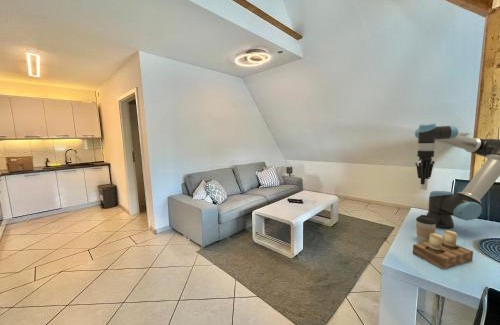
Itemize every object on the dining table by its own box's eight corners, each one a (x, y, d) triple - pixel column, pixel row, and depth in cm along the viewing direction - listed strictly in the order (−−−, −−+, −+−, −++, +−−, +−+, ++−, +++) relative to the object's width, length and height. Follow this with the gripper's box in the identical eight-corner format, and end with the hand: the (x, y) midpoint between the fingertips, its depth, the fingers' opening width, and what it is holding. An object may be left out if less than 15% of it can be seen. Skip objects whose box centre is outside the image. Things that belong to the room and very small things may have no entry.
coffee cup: (438, 246, 118) (440, 220, 116) (420, 245, 119) (422, 219, 117) (428, 238, 126) (430, 214, 124) (411, 237, 128) (413, 213, 126)
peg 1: (432, 254, 109) (434, 232, 108) (443, 259, 105) (445, 236, 103) (425, 256, 108) (427, 234, 106) (436, 261, 103) (438, 238, 102)
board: (439, 246, 117) (440, 238, 116) (472, 261, 104) (473, 251, 103) (412, 253, 112) (413, 244, 111) (442, 269, 98) (443, 259, 98)
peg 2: (446, 251, 112) (448, 229, 110) (457, 256, 107) (459, 233, 106) (439, 252, 111) (441, 231, 109) (450, 257, 106) (452, 235, 104)
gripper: (426, 149, 130) (424, 186, 133) (411, 150, 126) (409, 189, 129) (440, 149, 123) (438, 189, 126) (425, 151, 119) (422, 192, 122)
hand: (423, 189), depth 127 cm, fingers closed
